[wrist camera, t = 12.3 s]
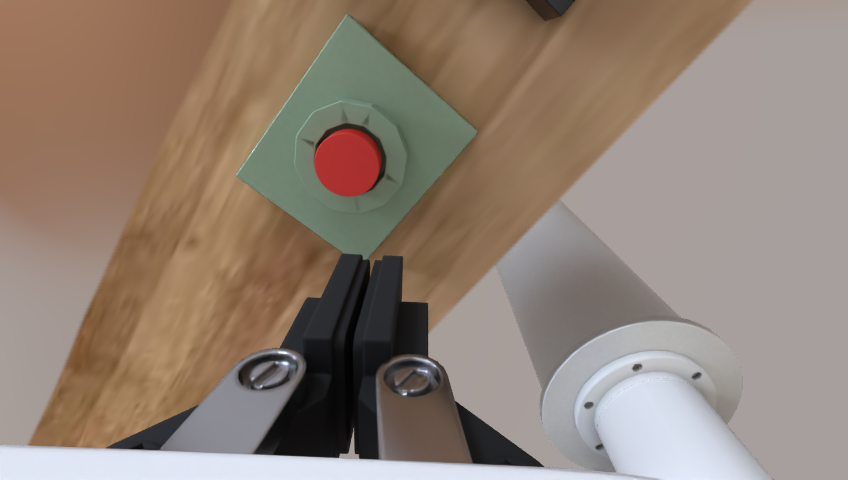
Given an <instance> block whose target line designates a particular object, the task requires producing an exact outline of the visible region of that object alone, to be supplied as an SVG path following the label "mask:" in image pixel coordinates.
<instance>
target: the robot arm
mask: <svg viewBox="0 0 848 480" xmlns="http://www.w3.org/2000/svg"><path fill="white" fill-rule="evenodd" d="M402 273H403V256H383V258H382V261H381V260H375V263H374V266H373V270H372V273H371V277H370V261H369V260H363V256H362V254H342V255H341V256H340V259H339V261H338V263H337V265H336V267H335V269H334V271H333V273H332V275H331V278H330V280H329V282H328V284H327V286H326V288H325V290H324V292H323V294H322V297H321V298H307V299H306V300H305V302H304V304H303V305H302V307H301V309H300V311H299V313H298V315H297V317H296V319H295V320H294V322H293V324H292V326H291V328H290V330H289V332H288V333H287V335H286V337H285V339H284V341H283V343H282V345H281V346H280V348H272V349H265V350H261V351H258V352H255V353H252V354H250V355H249V356H247V357H245V358H243V359H242V360H241V361H239V362H238V363H237V364H236V365H235V366H234V367H233V368H232V369H231V370H230V371H229V372H228V374H227V375H226V376H225V377H224V378H223V379H222V380H221V381H220V382H219V384H218V385H217V386H216V387H215V388H214V389H213V390H212V391H211V392H210V394H209V395H208V396H207V397H206V398H205V399H204V400H203V401H202V402H201V404H199V405H197V406H195V407H193V408H191V409H189V410H186V411H184V412H182V413H180V414H178V415H176V416H173V417H171V418H169V419H167V420H165V421H162V422H160V423H158V424H156V425H154V426H152V427H149V428H147V429H145V430H143V431H141V432H138V433H136V434H134V435H132V436H130V437H128V438H125V439H123V440H121V441H119V442H117V443H114V444H113V445H111V446H109V447H107V448H79V447H52V446H24V445H0V480H774V479H773V478H772V477H771V476H770V475H769V474H768V472H767V471H766V470H765V469H764V468H763V467H762V465H761V464H760V463H759V462H758V461H757V459H756V458H755V457H754V456H753V455H752V454H751V453H750V451H749V450H748V449H747V448H746V447H745V445H744V444H743V443H742V442H741V441H740V439H739V438H738V437H737V436H736V435H735V434H734V432H733V431H732V430H731V429H730V428H729V426H727V424H726V423H725V422H724V421H723V419H722V418H721V417H720V416H719V415H718V414H717V412H716V411H715V408H716V405H717V392H716V388H715V384H714V383H713V381H712V379H711V377H710V376H709V375H708V373H707V372H706V371H705V370H704V369H703V368H702V367H701V366H700V365H699V364H698V363H696V362H695V361H694V360H692V359H691V358H688V357H686V356H684V355H682V354H678V353H674V352H670V351H657V350H654V351H643V352H638V353H634V354H630V355H627V356H624V357H622V358H619V359H617V360H614V361H613V362H611V363H609V364H607V365H606V366H604V367H602V368H601V369H600V370H599V371H597V372H596V373H595V374H594V375H592V376H591V378H590V379H589V380H588V381H587V382H586V383H585V384H584V386H583V387H582V389H581V391H580V392H579V394H578V396H577V399H576V402H575V405H574V421H575V425H576V427H577V430H578V432H579V435H580V436H581V438H582V440H583V441H584V443H585V444H586V445H587V446H588V447H589V448H590V449H591V450H593V451H594V452H596V453H597V454H599V455H601V456H604V457H606V458H609V459H610V460H611V462H612V464H613V466H614V468H615V470H616V473H614V472H602V471H589V470H576V469H564V468H550V467H544V466H543V465H542V464H541V463H540V462H538V461H537V460H536V459H534V458H533V457H532V456H530V455H529V454H527V453H526V452H525V451H523V450H522V449H521V448H519V447H517V446H516V445H515V444H514V443H512V442H511V441H510V440H508V439H507V438H505V437H504V436H503V435H501V434H500V433H499V432H497V431H496V430H494V429H493V428H492V427H490V426H489V425H488V424H486V423H485V422H483V421H482V420H481V419H479V418H478V417H476V416H475V415H474V414H472V413H471V412H470V411H468V410H467V409H466V408H464V407H463V406H461V405H460V404H459V403H457V402H456V401H455V400H454V396H453V393H452V389H451V386H450V382H449V379H448V375H447V373H446V371H445V369H444V367H443V366H441V365H440V364H439V363H438V362H437V361H435V360H433V359H431V358H429V357H428V303H419V302H402ZM353 428H354V442H355V454H359V459H351V458H339V455H340V453H342V454H347V453H348V452H349V448H350V443H351V438H352V433H353Z"/></svg>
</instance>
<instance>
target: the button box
mask: <svg viewBox="0 0 848 480" xmlns="http://www.w3.org/2000/svg"><path fill="white" fill-rule="evenodd" d="M347 128H351V129H357V130H360V131H363V132H365V133H366V134H368V135H369V136H370V137H371V138H373V140H374V141H375V142H376V144H377V145H378V147H379V149H380V152H381V157H382V164H381V169H380V172H379V174H378V177H377V180H376V182H375V183H374V185H373V186H372V187H371V188H370V189H369V190H368V191H367V192H365V193H363V194H361V195H358V196H353V197H345V196H340V195H337V194H335V193H333V192H331V191H329V190H328V189H327V188H326V187H325V186H324V185H323V184H322V183H321V182H320V180H319V178H318V177H317V174H316V171H315V165H314V160H315V154H316V151H317V149H318V147H319V146H320V144H321V143H322V142H323V141H324V140H325V139H326V138H328V137H329V136H330V135H331V134H333V133H334V132H336V131H338V130H341V129H347ZM477 133H478V131H477V130H476V129H475V127H473V126H472V125H471V124H470V123H469V122H468V121H467V120H466V119H465V118H463V117H462V116H461V115H460V114H459V113H458V112H457V111H456V110H455V109H453V108H452V107H451V106H450V105H449V104H448V103H447V102H446V101H445V100H444V99H442V98H441V97H440V96H439V95H438V94H437V93H436V92H435V91H434V90H432V89H431V88H430V87H429V86H428V85H427V84H426V83H425V82H424V81H422V80H421V79H420V78H419V77H418V76H417V75H416V74H415V73H414V72H413V71H411V70H410V69H409V68H408V67H407V66H406V65H405V64H404V63H403V62H401V61H400V60H399V59H398V58H397V57H396V56H395V55H394V54H393V53H391V52H390V51H389V50H388V49H387V48H386V47H385V46H384V45H383V44H381V43H380V42H379V41H378V40H377V39H376V38H375V37H374V36H373V35H372V34H370V33H369V32H368V31H367V30H366V29H365V28H364V27H363V26H362V25H360V24H359V23H358V22H357V21H356V20H355V19H354V18H353V17H351V16H350V15H348V14H347V15H346V16H345V17H344V19H343V20H342V21H341V23H340V24H339V26H338V27H337V29H336V30H335V32H334V33H333V35H332V36H331V37H330V39H329V40H328V42H327V43H326V45H325V46H324V48H323V49H322V51H321V52H320V53H319V55H318V56H317V58H316V59H315V61H314V62H313V64H312V65H311V67H310V68H309V69H308V71H307V72H306V74H305V75H304V77H303V78H302V80H301V81H300V83H299V84H298V86H297V87H296V88H295V90H294V91H293V93H292V94H291V96H290V97H289V99H288V100H287V102H286V103H285V104H284V106H283V107H282V109H281V110H280V112H279V113H278V115H277V116H276V118H275V119H274V120H273V122H272V123H271V125H270V126H269V128H268V129H267V131H266V132H265V134H264V135H263V136H262V138H261V139H260V141H259V142H258V144H257V145H256V147H255V148H254V150H253V151H252V153H251V154H250V155H249V157H248V158H247V160H246V161H245V163H244V164H243V166H242V167H241V169H240V170H239V171H238V173H237V174H236V176H237V177H238V178H239V179H241V180H242V181H244V182H245V183H246V184H248V185H249V186H251V187H252V188H253V189H255V190H256V191H258V192H259V193H260V194H262V195H263V196H265V197H266V198H267V199H269V200H270V201H271V202H273V203H274V204H276V205H277V206H278V207H280V208H281V209H283V210H284V211H285V212H287V213H288V214H290V215H291V216H292V217H294V218H295V219H297V220H298V221H299V222H301V223H302V224H304V225H305V226H306V227H308V228H309V229H310V230H312V231H313V232H315V233H316V234H317V235H319V236H320V237H322V238H323V239H324V240H326V241H327V242H329V243H330V244H331V245H333V246H334V247H336V248H337V249H338V250H340V251H341V252H342V253H344V254H362V256H363V260H367V259H368V258H369V257H370V255H371V254H372V253H373V252H374V251H375V250H376V249H377V248H378V246H379V245H380V244H381V243H382V242H383V241H384V240H385V238H386V237H387V236H388V235H389V234H390V233H391V232H392V230H393V229H394V228H395V227H396V226H397V225H398V224H399V222H400V221H401V220H402V219H403V218H404V217H405V216H406V214H407V213H408V212H409V211H410V210H411V209H412V208H413V206H414V205H415V204H416V203H417V202H418V201H419V200H420V198H421V197H422V196H423V195H424V194H425V193H426V192H427V190H428V189H429V188H430V187H431V186H432V185H433V184H434V182H435V181H436V180H437V179H438V178H439V177H440V176H441V174H442V173H443V172H444V171H445V170H446V169H447V168H448V166H449V165H450V164H451V163H452V162H453V161H454V160H455V158H456V157H457V156H458V155H459V154H460V153H461V152H462V150H463V149H464V148H465V147H466V146H467V145H468V144H469V142H470V141H471V140H472V139H473V138H474V137H475V136H476V134H477Z"/></svg>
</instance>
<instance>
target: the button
mask: <svg viewBox="0 0 848 480" xmlns="http://www.w3.org/2000/svg"><path fill="white" fill-rule="evenodd" d="M381 164H382V157H381V152H380V149H379V147H378V145H377V144H376V142H375V141H374V140H373V138H371V137H370V136H369V135H368V134H366V133H365V132H363V131H360V130H357V129H351V128H347V129H341V130H338V131H336V132H334V133H333V134H331V135H330V136H329V137H328V138H326V139H325V140H324V141H323V142H322V143H321V144H320V146H319V147H318V149H317V151H316V154H315V160H314V165H315V171H316V174H317V177H318V178H319V180H320V182H321V183H322V184H323V185H324V186H325V187H326V188H327V189H328V190H329V191H331V192H333V193H335V194H337V195H340V196H345V197H353V196H358V195H361V194H363V193H365V192H367V191H368V190H369V189H370V188H371V187H372V186H373V185H374V183H375V182H376V180H377V177H378V174H379V172H380V169H381Z"/></svg>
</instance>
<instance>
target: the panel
mask: <svg viewBox="0 0 848 480" xmlns="http://www.w3.org/2000/svg"><path fill="white" fill-rule="evenodd" d="M526 1H527V2H528V3H529V4H530V5H531V7H532V8H533V9H534V10H535V11H536V12H537V13H538V14H539V15H540V16H541V17H542V18H543V19H544V20H545V21H548V20H551V19H554V18H557V17H560V16H562V15H563V14H564V13H565V11H566V10H567V9H568V8H569V7H570V6H571V4H572V3H573V2H574V1H575V0H526Z"/></svg>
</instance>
